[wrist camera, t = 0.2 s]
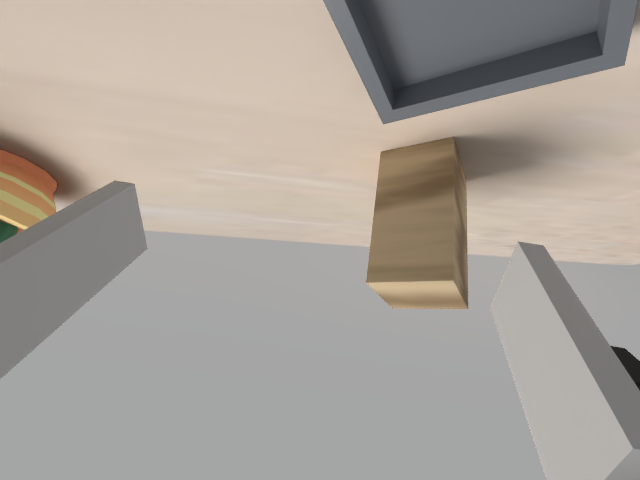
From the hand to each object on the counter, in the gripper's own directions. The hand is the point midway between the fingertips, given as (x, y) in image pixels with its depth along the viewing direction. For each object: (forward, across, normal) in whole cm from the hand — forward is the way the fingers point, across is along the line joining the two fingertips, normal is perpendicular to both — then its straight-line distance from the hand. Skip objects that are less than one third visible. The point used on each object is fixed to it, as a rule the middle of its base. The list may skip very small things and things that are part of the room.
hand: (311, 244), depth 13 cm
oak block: (+22, +6, -4) cm, 23 cm away
